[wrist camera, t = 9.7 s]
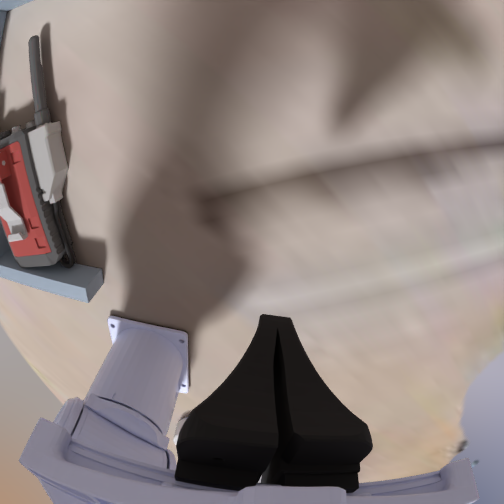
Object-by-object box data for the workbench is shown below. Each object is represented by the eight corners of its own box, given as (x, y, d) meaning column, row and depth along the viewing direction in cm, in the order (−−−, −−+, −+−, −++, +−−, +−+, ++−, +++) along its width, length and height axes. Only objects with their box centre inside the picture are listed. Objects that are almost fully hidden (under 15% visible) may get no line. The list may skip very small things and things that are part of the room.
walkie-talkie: (100, 257, 24) (53, 31, 15) (74, 285, 20) (17, 27, 11) (35, 262, 25) (-10, 73, 16) (10, 286, 21) (-43, 77, 12)
